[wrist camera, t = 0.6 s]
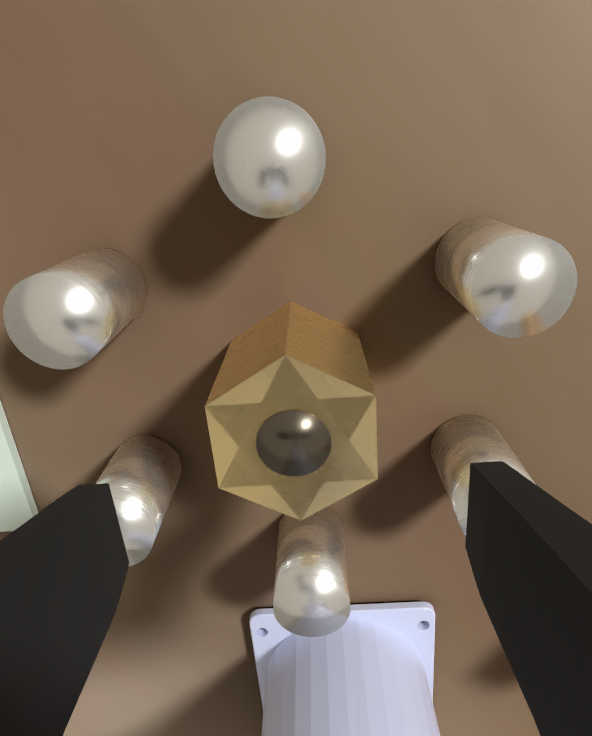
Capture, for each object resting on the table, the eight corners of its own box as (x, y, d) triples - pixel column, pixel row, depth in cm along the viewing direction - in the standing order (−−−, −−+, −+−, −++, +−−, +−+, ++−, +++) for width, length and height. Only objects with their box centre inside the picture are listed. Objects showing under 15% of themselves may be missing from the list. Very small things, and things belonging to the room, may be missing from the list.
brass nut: (361, 429, 19) (379, 517, 14) (244, 436, 19) (224, 526, 15) (356, 296, 17) (375, 349, 12) (226, 306, 17) (196, 361, 13)
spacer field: (492, 544, 21) (531, 627, 17) (140, 562, 22) (105, 645, 18) (530, 87, 15) (606, 64, 11) (29, 133, 15) (-59, 126, 12)
